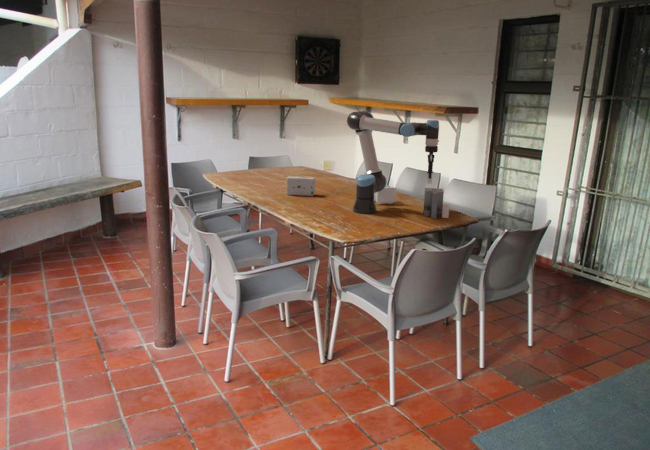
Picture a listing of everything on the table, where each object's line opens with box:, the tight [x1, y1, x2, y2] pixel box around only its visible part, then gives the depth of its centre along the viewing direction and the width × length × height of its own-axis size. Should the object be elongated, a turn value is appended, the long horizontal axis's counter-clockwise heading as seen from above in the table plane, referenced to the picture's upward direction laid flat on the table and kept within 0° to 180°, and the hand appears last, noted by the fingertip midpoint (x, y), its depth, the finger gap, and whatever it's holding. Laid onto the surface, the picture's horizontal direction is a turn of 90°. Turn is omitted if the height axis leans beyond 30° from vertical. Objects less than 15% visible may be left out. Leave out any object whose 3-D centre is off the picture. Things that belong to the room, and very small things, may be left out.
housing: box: [422, 187, 445, 220], centre depth 339 cm, size 12×29×16 cm, turn 171°
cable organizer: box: [374, 184, 397, 205], centre depth 368 cm, size 15×11×12 cm
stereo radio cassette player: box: [286, 168, 317, 197], centre depth 386 cm, size 21×8×20 cm, turn 84°
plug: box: [423, 203, 450, 219], centre depth 333 cm, size 15×4×8 cm, turn 79°
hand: (429, 183), depth 329 cm, fingers closed
